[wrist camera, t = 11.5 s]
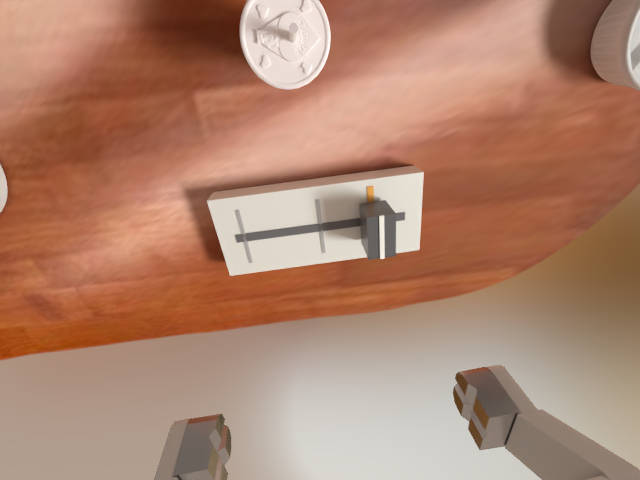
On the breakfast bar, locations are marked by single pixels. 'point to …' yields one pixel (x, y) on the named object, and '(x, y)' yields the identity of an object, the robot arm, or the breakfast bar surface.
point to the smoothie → (285, 40)
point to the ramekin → (618, 44)
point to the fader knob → (378, 229)
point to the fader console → (312, 218)
